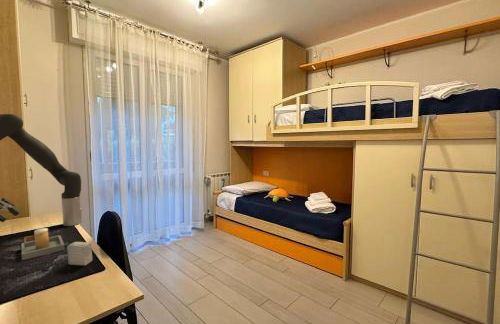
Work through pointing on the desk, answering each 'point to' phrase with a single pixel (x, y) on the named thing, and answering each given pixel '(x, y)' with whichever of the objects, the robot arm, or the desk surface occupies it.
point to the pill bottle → (41, 238)
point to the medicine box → (79, 253)
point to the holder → (29, 238)
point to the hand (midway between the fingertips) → (11, 217)
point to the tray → (31, 252)
